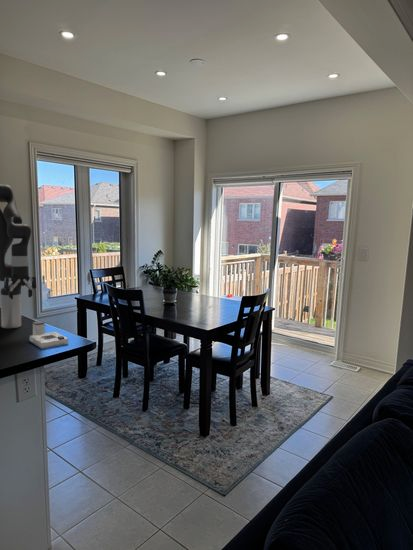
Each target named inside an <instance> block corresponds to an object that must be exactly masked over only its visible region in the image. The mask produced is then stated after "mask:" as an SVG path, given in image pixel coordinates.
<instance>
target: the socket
mask: <svg viewBox="0 0 413 550" xmlns="http://www.w3.org/2000/svg"><path fill="white" fill-rule="evenodd" d="M29 342H30V343H32V344H34V345H35V346H37V347H38V348H40V349H41V350H43V349H44V350H45V349H49V348H53V347H59V346H64V345H69V338H68V337H67V336H65V335H63V334H60V333H59V332H58V331H51V332H45V333H44V334H38V335H33V334H32V335H29Z"/></svg>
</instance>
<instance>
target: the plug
mask: <svg viewBox="0 0 413 550" xmlns="http://www.w3.org/2000/svg"><path fill="white" fill-rule="evenodd" d="M45 325H46V324H45V321H42V320H37V321H32V335H38V334H44V333H46V332H45V328H46V327H45Z"/></svg>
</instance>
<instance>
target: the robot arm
mask: <svg viewBox="0 0 413 550" xmlns="http://www.w3.org/2000/svg"><path fill="white" fill-rule="evenodd" d="M0 203H7V204H6V206H5V207H4V208H3V210H1V208H0V282H4V284H3V287H2V288H1V290H0V311H1V312H0V313H1V314H0V316H1V317H0V319H1V321H0V323H1V328H2V329H17V328H20V327H22V296H21V295H22V287H24V286H25V287H27V292H28V293H27V295H28V298H32V296H33V290H35V289H36V288H37V278H36V276H33V275H31V276H30V275H29V274H30V273H29V257H28V254H29V253H28V252H29V251H28V249H29V248H28V247H29V241H30V238H31V235H32V229H31V226H30V225H29V224H26V223H24V224H23V219H22V217H21V215H20V214H21V213H19V211H18V208H17V202H16V198H15V194H14V192H13V189H12V187H11V186H10V185H9V184H4V183H0ZM14 239H15V240H16V239H21V241H20V242H18V243H17V242H16V243H13V242H14ZM9 248H11V260H10V262H6V261H5V260H6V259H5V258H6V254H7V252H8V250H9ZM29 280H30V281H31V284H30V283H29ZM10 282H11V283H10ZM9 283H10V284H9Z"/></svg>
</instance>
